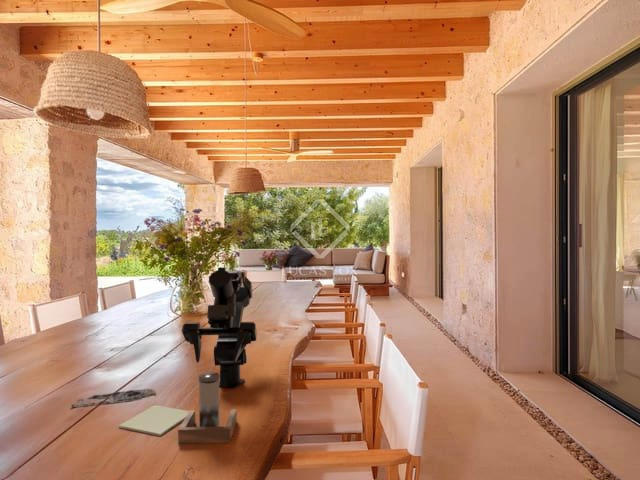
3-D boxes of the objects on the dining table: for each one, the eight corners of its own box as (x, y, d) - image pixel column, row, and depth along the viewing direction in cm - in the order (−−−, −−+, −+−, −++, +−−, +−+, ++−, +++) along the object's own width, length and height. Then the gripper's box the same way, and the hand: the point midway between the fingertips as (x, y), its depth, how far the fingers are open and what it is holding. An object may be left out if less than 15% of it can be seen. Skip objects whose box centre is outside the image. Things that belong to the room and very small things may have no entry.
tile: (154, 406, 113) (154, 405, 113) (193, 413, 109) (192, 411, 109) (119, 427, 101) (118, 425, 101) (160, 436, 97) (160, 433, 97)
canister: (206, 424, 103) (206, 371, 102) (223, 427, 101) (223, 373, 101) (194, 433, 99) (194, 377, 98) (212, 437, 97) (211, 380, 96)
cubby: (190, 422, 104) (190, 410, 104) (236, 421, 105) (236, 409, 104) (178, 443, 94) (178, 429, 94) (229, 442, 95) (229, 428, 94)
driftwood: (157, 391, 124) (157, 384, 124) (155, 401, 118) (155, 393, 118) (77, 400, 118) (77, 393, 118) (71, 411, 112) (70, 403, 112)
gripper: (183, 292, 112) (170, 346, 101) (255, 291, 112) (250, 345, 102) (191, 315, 120) (180, 367, 109) (258, 314, 121) (254, 366, 110)
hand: (215, 361), depth 107 cm, fingers open, 9 cm apart
